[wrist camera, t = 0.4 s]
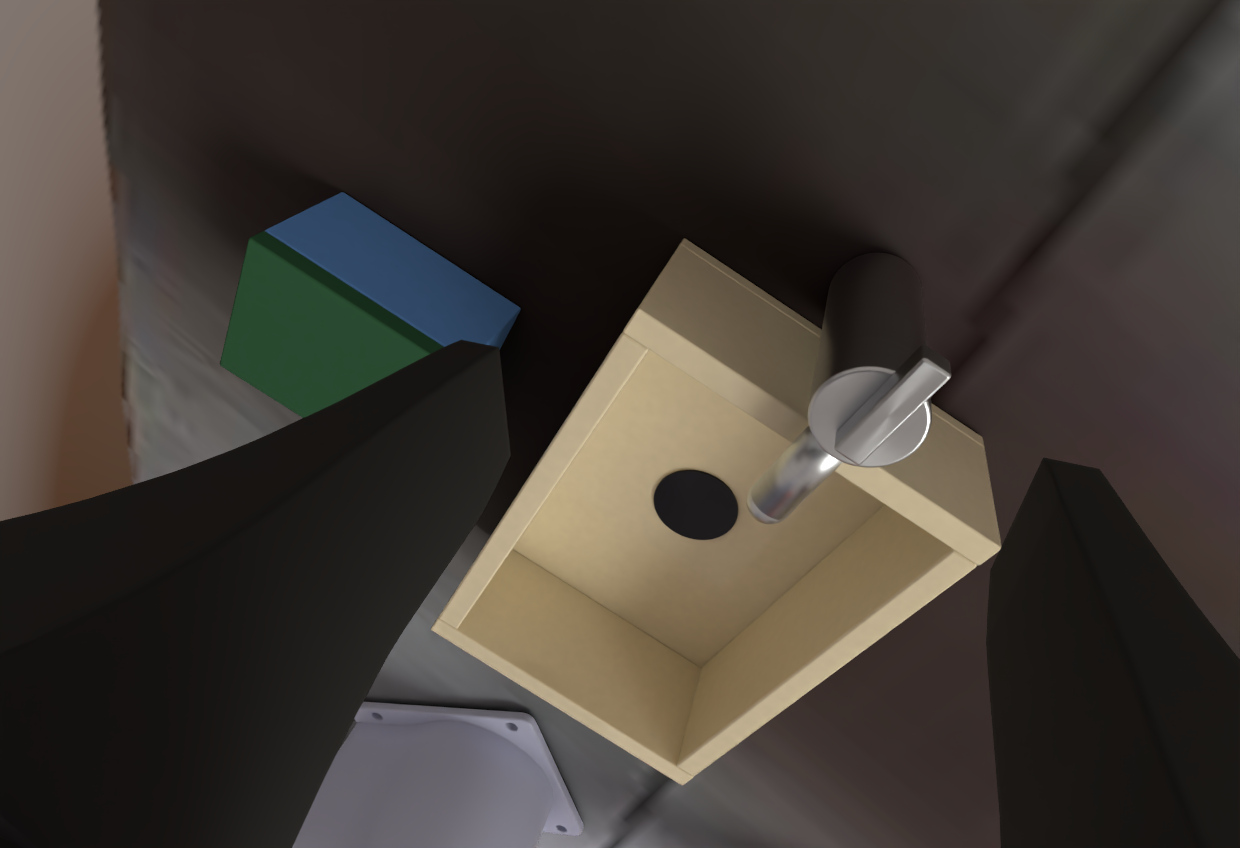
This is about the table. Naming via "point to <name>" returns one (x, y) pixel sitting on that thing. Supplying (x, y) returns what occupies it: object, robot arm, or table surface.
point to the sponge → (348, 306)
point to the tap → (836, 402)
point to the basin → (718, 568)
